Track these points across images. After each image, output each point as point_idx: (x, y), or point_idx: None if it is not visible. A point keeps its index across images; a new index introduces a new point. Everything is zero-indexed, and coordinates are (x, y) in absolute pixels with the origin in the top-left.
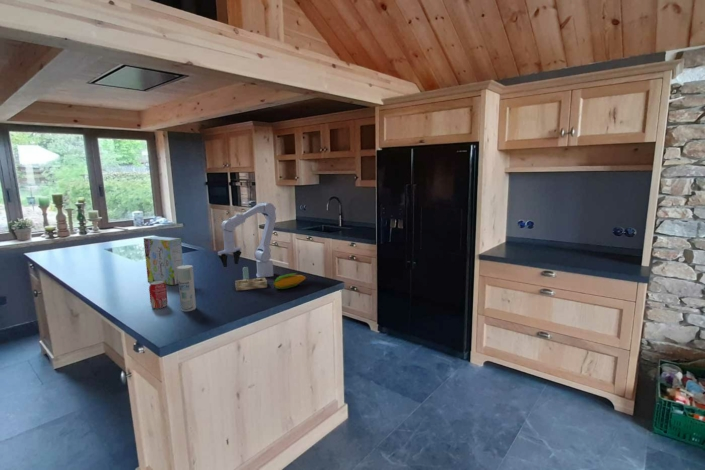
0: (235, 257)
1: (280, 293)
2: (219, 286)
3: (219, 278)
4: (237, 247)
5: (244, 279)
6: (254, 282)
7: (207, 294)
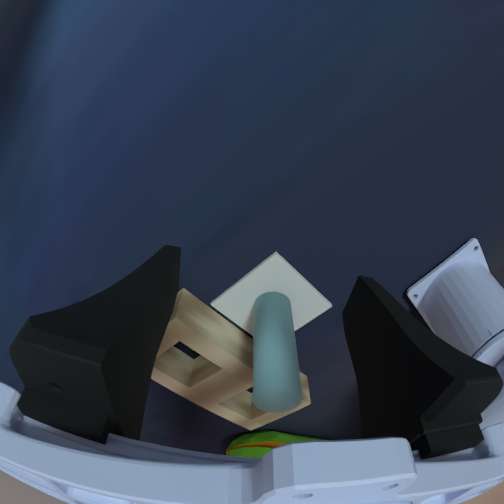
0: (382, 359)
1: (214, 444)
2: (132, 182)
3: (318, 9)
4: (496, 479)
5: (253, 329)
6: (208, 406)
7: (16, 237)
